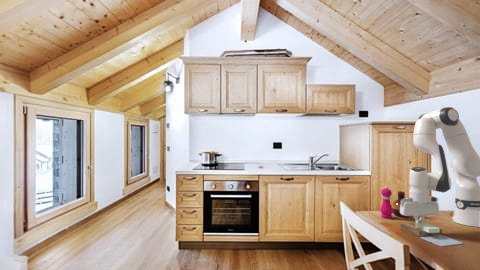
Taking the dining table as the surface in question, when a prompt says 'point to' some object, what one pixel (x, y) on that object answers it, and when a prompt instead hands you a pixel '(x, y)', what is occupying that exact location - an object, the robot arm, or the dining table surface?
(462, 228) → the dining table surface
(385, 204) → the pepper mill
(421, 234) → the deck
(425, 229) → the pale green flat block
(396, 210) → the vase
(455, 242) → the mat
